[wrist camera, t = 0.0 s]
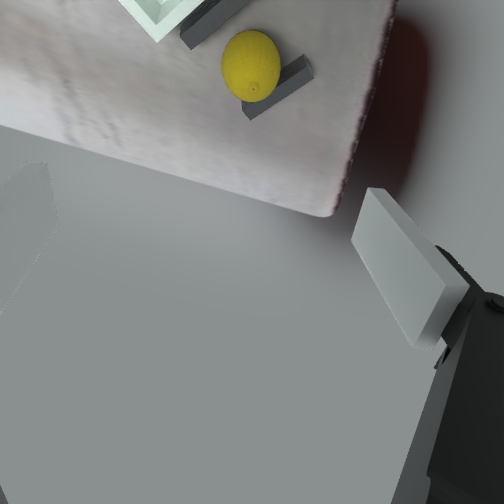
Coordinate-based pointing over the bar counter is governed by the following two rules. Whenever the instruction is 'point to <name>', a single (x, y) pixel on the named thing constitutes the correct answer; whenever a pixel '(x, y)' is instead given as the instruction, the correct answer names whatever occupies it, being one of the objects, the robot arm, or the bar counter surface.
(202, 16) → the cradle
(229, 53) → the lemon
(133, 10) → the tray
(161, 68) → the bar counter surface
